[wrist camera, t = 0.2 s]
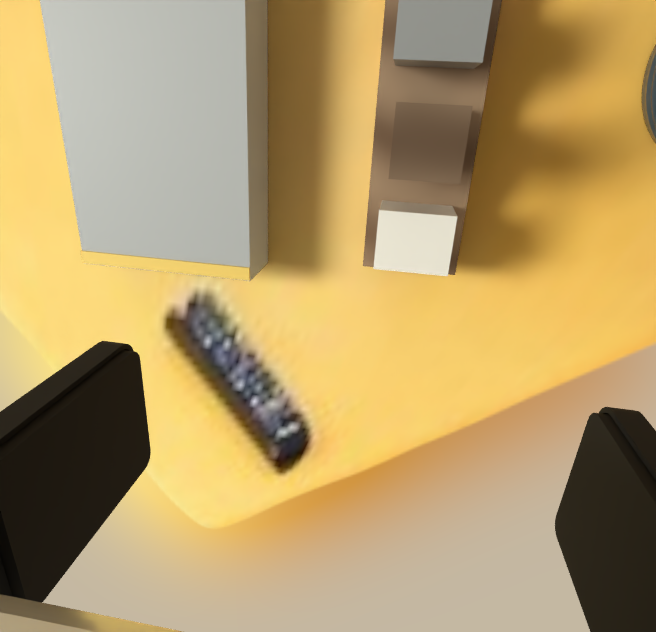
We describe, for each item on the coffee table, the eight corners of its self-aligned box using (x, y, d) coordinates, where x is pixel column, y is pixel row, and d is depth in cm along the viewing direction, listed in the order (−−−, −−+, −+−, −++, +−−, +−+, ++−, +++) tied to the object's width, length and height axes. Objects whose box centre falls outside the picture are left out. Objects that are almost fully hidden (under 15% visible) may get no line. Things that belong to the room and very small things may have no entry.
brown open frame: (390, -18, 31) (381, -74, 22) (497, -16, 30) (535, -74, 21) (366, 254, 39) (352, 298, 30) (451, 262, 38) (464, 310, 29)
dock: (79, -50, 33) (24, -77, 29) (267, -48, 32) (242, -76, 27) (119, 247, 42) (82, 264, 38) (268, 262, 40) (249, 281, 36)
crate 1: (402, -8, 29) (401, -26, 25) (485, -6, 28) (496, -24, 24) (395, 65, 30) (393, 59, 27) (473, 68, 30) (482, 62, 26)
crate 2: (382, 200, 34) (379, 209, 30) (452, 206, 33) (457, 216, 30) (377, 253, 35) (373, 268, 32) (443, 259, 35) (447, 276, 31)
